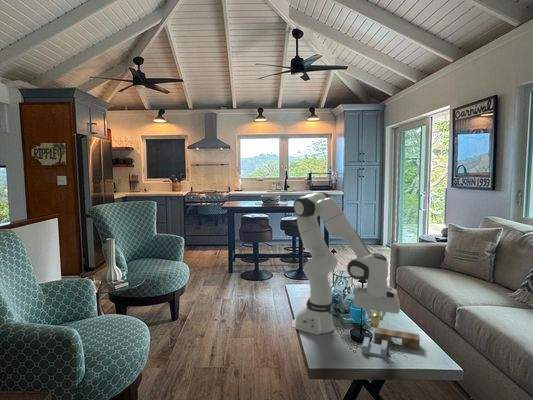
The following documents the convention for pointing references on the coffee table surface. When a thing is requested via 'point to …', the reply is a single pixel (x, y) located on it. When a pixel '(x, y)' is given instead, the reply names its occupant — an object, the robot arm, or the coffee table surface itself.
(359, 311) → the mug
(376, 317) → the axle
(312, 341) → the coffee table surface
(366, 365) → the coffee table surface
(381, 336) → the beam
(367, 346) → the cradle
